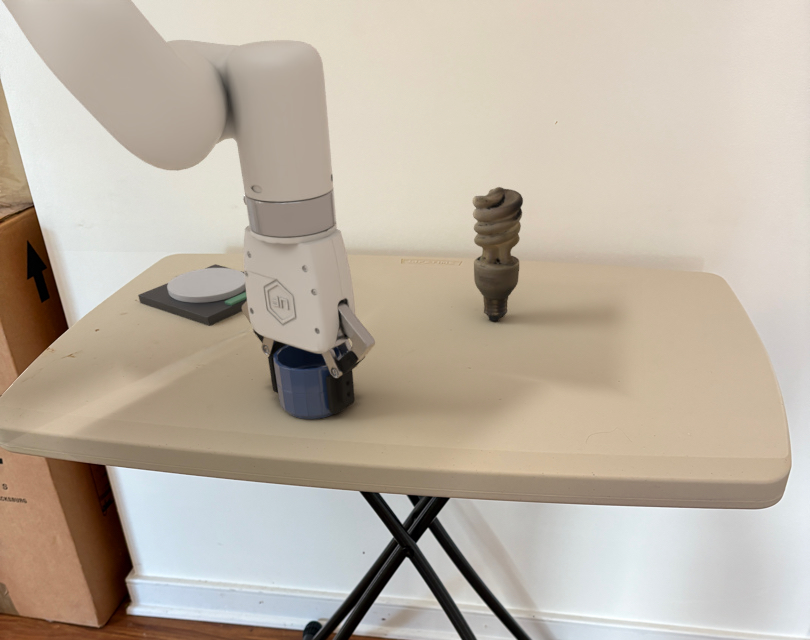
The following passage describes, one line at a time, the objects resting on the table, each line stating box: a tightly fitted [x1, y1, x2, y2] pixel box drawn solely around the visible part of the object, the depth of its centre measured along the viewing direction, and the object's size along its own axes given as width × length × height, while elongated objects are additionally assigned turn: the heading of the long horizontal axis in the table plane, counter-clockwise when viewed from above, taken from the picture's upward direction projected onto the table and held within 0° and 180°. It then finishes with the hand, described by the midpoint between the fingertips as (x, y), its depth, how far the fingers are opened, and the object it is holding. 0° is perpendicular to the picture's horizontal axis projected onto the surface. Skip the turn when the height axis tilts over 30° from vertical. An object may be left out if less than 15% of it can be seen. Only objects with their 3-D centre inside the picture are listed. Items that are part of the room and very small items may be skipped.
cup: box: [273, 345, 342, 420], centre depth 75 cm, size 7×7×6 cm
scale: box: [137, 264, 247, 327], centre depth 97 cm, size 13×13×3 cm
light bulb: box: [472, 186, 524, 322], centre depth 87 cm, size 6×6×15 cm
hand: (313, 396), depth 76 cm, fingers closed on cup, 6 cm apart
